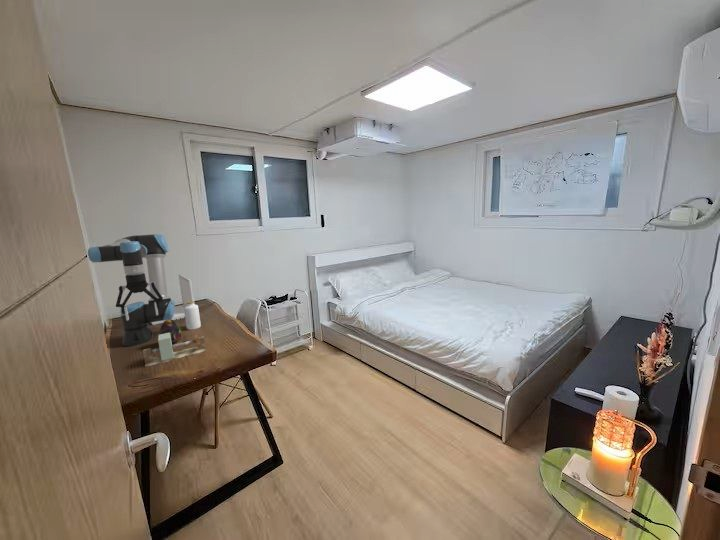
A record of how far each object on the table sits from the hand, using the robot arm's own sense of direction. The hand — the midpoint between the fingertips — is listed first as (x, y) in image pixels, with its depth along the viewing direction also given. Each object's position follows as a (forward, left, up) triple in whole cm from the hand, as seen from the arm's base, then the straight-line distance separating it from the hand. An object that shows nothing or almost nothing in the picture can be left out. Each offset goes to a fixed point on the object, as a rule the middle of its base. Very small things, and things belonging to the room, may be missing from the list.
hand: (142, 317), depth 143 cm
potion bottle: (-17, +43, -24) cm, 52 cm away
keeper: (+5, +6, -24) cm, 25 cm away
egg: (-9, +20, -24) cm, 33 cm away
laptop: (-60, +63, -25) cm, 90 cm away
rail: (+7, +9, -24) cm, 27 cm away
